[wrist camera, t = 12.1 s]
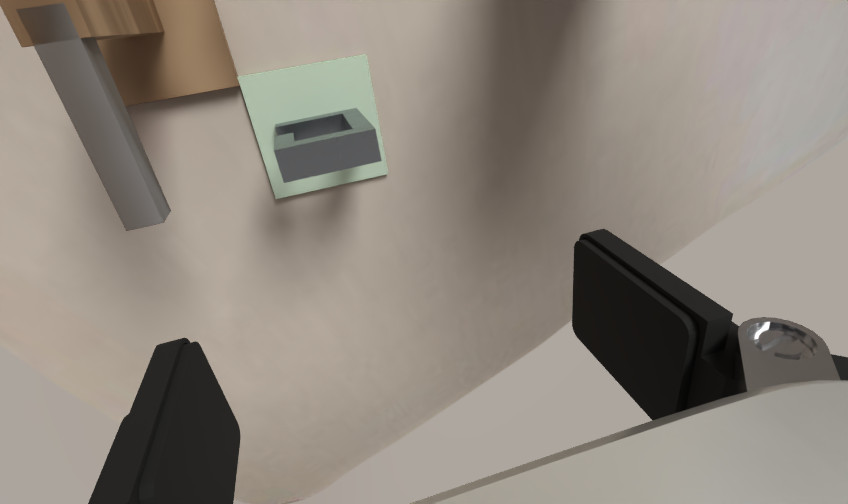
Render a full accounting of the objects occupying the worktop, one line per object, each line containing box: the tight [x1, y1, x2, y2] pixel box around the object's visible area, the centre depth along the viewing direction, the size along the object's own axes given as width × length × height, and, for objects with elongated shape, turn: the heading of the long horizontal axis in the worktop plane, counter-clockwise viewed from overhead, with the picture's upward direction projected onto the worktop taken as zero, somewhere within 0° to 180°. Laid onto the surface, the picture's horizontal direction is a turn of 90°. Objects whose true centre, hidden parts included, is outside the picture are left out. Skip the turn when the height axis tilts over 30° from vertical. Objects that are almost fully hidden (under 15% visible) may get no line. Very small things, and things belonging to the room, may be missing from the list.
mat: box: [238, 54, 388, 199], centre depth 34 cm, size 9×9×1 cm
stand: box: [0, 0, 240, 231], centre depth 24 cm, size 9×12×14 cm
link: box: [274, 108, 382, 183], centre depth 31 cm, size 6×2×8 cm, turn 99°
